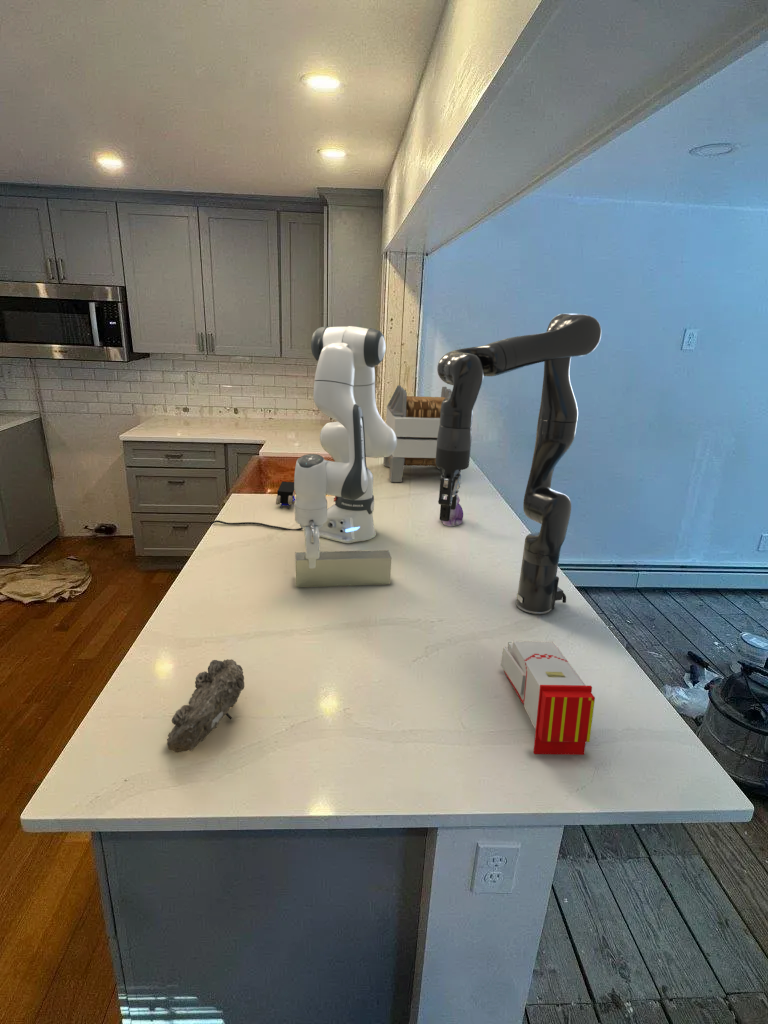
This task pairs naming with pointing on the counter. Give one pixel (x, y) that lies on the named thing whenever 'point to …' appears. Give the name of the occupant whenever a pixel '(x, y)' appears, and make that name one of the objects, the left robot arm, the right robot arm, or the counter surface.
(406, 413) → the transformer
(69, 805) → the counter surface
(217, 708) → the fossil
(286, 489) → the figurine character
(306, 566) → the bar
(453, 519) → the figurine
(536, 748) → the toy
